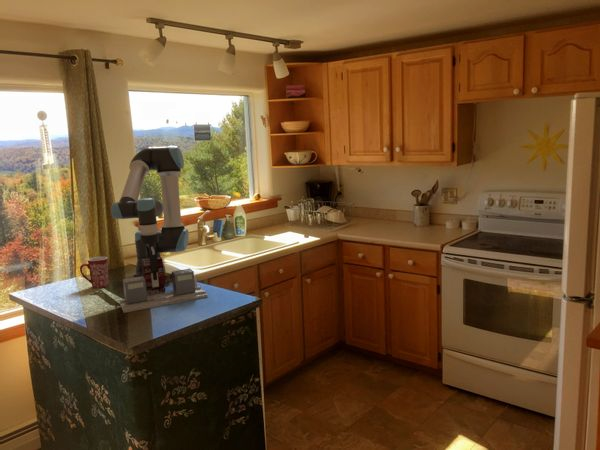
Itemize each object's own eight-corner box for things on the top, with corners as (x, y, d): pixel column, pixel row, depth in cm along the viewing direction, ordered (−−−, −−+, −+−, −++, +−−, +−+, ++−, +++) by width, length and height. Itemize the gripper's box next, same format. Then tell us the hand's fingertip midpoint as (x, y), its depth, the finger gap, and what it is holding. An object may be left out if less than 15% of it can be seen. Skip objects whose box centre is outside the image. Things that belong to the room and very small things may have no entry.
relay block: (182, 288, 229) (181, 276, 228) (192, 286, 232) (191, 273, 231) (186, 291, 225) (185, 278, 224) (197, 288, 228) (196, 275, 227)
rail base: (119, 304, 211) (116, 278, 209) (199, 289, 225) (196, 265, 224) (123, 312, 199) (120, 285, 197) (207, 297, 214) (205, 271, 212)
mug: (109, 282, 248) (105, 255, 246) (112, 286, 240) (108, 258, 238) (81, 286, 242) (77, 259, 240) (83, 291, 234) (79, 263, 232)
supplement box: (146, 296, 220) (142, 261, 217) (144, 293, 224) (140, 259, 222) (166, 293, 224) (162, 258, 221) (164, 290, 228) (160, 256, 225)
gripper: (136, 232, 226) (142, 282, 230) (143, 237, 210) (149, 291, 214) (153, 230, 229) (159, 279, 233) (161, 235, 213) (167, 288, 217)
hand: (154, 285), depth 223 cm, fingers closed on supplement box, 5 cm apart
